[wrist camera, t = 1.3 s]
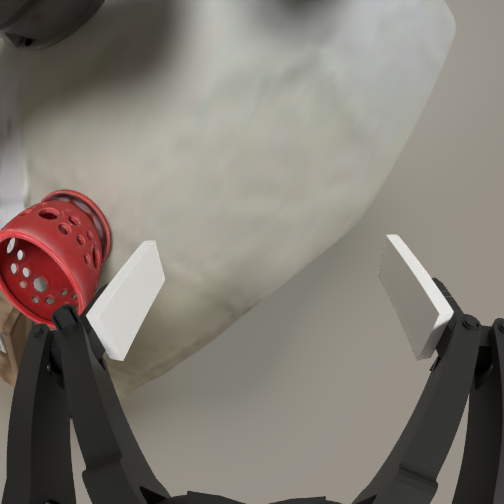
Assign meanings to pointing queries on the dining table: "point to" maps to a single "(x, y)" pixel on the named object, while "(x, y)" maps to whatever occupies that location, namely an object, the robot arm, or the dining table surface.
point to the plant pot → (54, 254)
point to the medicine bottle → (2, 343)
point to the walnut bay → (12, 338)
